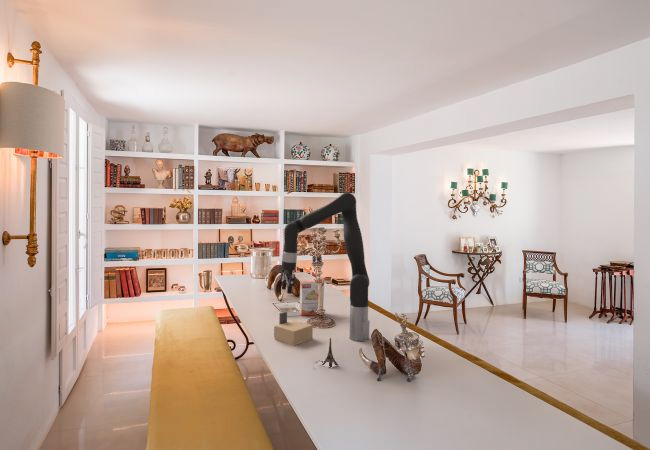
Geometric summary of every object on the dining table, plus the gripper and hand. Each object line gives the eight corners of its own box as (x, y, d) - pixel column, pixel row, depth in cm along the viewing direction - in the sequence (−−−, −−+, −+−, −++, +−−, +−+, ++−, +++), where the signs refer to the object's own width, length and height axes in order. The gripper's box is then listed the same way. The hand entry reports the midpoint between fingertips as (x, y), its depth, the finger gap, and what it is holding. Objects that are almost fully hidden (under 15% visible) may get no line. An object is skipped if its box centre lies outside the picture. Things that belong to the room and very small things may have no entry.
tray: (310, 336, 217) (310, 314, 217) (292, 343, 207) (292, 320, 206) (290, 331, 226) (291, 309, 225) (272, 336, 216) (273, 314, 215)
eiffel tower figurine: (345, 361, 189) (346, 331, 188) (349, 370, 179) (349, 338, 178) (311, 361, 188) (312, 331, 187) (313, 370, 177) (314, 339, 177)
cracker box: (301, 316, 258) (301, 282, 257) (299, 313, 264) (299, 280, 263) (323, 315, 262) (324, 281, 261) (321, 312, 268) (321, 279, 267)
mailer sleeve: (312, 338, 217) (312, 325, 216) (293, 345, 206) (293, 331, 206) (294, 333, 225) (294, 320, 225) (274, 339, 214) (275, 325, 214)
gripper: (301, 263, 215) (298, 294, 216) (291, 258, 228) (288, 288, 229) (287, 263, 212) (284, 295, 213) (278, 258, 225) (275, 288, 226)
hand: (286, 291), depth 221 cm, fingers open, 8 cm apart
